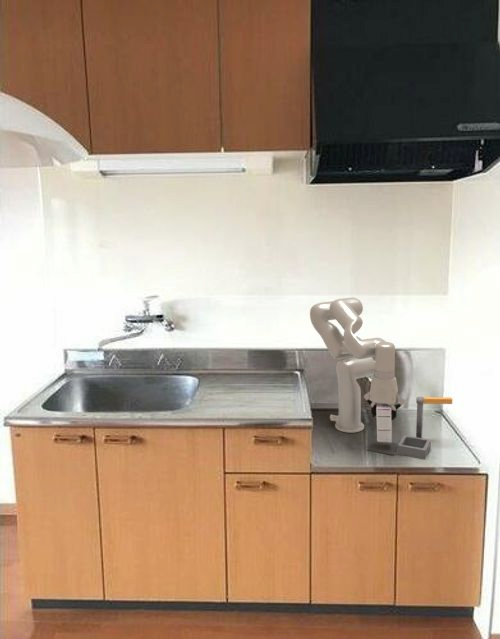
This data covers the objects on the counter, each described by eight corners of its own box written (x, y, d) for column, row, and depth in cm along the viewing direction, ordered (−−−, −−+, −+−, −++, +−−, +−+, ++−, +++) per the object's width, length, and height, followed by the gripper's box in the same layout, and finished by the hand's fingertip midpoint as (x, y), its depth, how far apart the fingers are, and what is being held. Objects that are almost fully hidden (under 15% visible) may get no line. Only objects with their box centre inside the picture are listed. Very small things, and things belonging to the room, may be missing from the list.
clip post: (410, 442, 201) (411, 404, 198) (412, 438, 206) (413, 400, 202) (425, 445, 198) (426, 406, 195) (427, 440, 203) (429, 402, 199)
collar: (397, 453, 192) (397, 445, 192) (403, 443, 201) (404, 435, 201) (425, 459, 187) (425, 450, 187) (430, 448, 196) (430, 439, 195)
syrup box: (392, 442, 194) (392, 407, 191) (376, 442, 195) (376, 407, 192) (391, 436, 199) (391, 402, 196) (376, 435, 200) (376, 401, 198)
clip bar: (452, 404, 196) (452, 399, 195) (417, 404, 197) (417, 399, 197) (450, 401, 199) (450, 397, 198) (415, 401, 200) (415, 396, 200)
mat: (367, 450, 196) (367, 449, 196) (374, 440, 205) (374, 439, 205) (392, 455, 191) (392, 454, 191) (398, 445, 200) (398, 444, 200)
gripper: (359, 374, 193) (359, 417, 197) (405, 379, 185) (404, 424, 188) (365, 368, 199) (365, 410, 203) (409, 373, 191) (408, 417, 194)
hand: (383, 417), depth 195 cm, fingers closed on syrup box, 6 cm apart
